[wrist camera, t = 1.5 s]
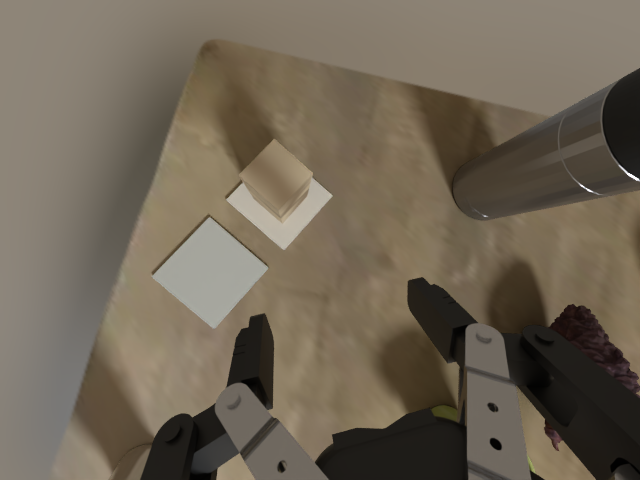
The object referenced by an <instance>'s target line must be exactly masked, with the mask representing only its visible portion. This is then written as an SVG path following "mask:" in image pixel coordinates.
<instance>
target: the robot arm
mask: <svg viewBox="0 0 640 480" xmlns="http://www.w3.org/2000/svg"><path fill="white" fill-rule="evenodd" d="M638 190H640V68H639V69H637V70H636V71H634V72H632V73H630V74H628V75H627V76H625V77H623V78H621V79H620V80H618V81H616V82H614V83H612V84H610V85H609V86H607V87H605V88H603V89H601V90H599V91H598V92H596V93H594V94H592V95H590V96H588V97H587V98H585V99H583V100H581V101H579V102H578V103H576V104H574V105H572V106H571V107H569V108H567V109H565V110H563V111H561V112H559V113H558V114H556V115H554V116H552V117H550V118H548V119H547V120H545V121H543V122H541V123H539V124H537V125H536V126H534V127H532V128H530V129H528V130H526V131H525V132H523V133H521V134H519V135H517V136H515V137H514V138H512V139H510V140H508V141H506V142H504V143H503V144H501V145H499V146H497V147H495V148H493V149H492V150H490V151H488V152H486V153H484V154H482V155H480V156H478V157H477V158H475V159H473V160H471V161H469V162H467V163H466V164H464V165H463V166H462V167H461V168H460V169H459V170H458V171H457V173H456V175H455V177H454V181H453V194H454V198H455V201H456V203H457V205H458V206H459V208H460V209H461V210H462V211H463V212H464V213H465V214H466V215H468V216H469V217H471V218H474V219H477V220H490V219H495V218H500V217H505V216H511V215H516V214H522V213H527V212H532V211H537V210H542V209H547V208H552V207H557V206H562V205H568V204H573V203H578V202H583V201H588V200H593V199H598V198H603V197H608V196H613V195H618V194H623V193H628V192H633V191H638ZM407 301H408V306H409V309H410V311H411V313H412V314H413V316H414V317H415V319H416V320H417V321H418V323H419V324H420V326H421V327H422V328H423V330H424V331H425V333H426V334H427V335H428V337H429V338H430V340H431V341H432V342H433V344H434V345H435V347H436V348H437V349H438V351H439V352H440V354H441V355H442V356H443V358H444V359H445V361H446V362H447V363H452V362H457V364H458V365H459V366H460V367H459V384H458V410H457V421H454V420H451V419H448V418H444V417H439V416H434V414H433V413H432V411H431V409H430V408H427V409H424V410H420V411H417V412H413V413H409V414H406V415H405V416H403V417H402V418H400V419H399V420H397V421H396V422H394V423H393V424H391V425H390V426H388V427H387V428H384V429H372V428H355V429H351V430H347V431H344V432H340V433H336V434H333V435H332V437H333V444H331V445H330V446H329V447H327V448H326V449H325V450H324V451H323V452H322V453H321V454H320V456H319V457H318V458H317V460H316V461H315V463H314V461H313V460H312V459H311V458H310V457H309V455H308V454H307V453H306V452H305V451H304V449H303V448H302V447H301V446H300V445H299V443H298V442H297V441H296V440H295V439H294V438H293V436H292V435H291V434H290V433H289V432H288V430H287V429H286V428H285V427H284V426H283V424H282V423H281V422H280V421H279V420H278V419H277V418H273V417H272V415H271V414H270V413H269V412H268V411H267V410H269V409H273V366H274V340H273V335H272V331H271V329H270V326H269V323H268V320H267V317H266V315H265V313H264V314H259V315H255V316H251V317H250V321H249V327H248V328H243V329H241V331H240V333H239V334H238V336H237V337H236V342H235V349H234V352H233V357H232V362H231V367H230V372H229V377H228V382H227V387H226V389H225V390H224V391H223V392H222V393H221V394H220V395H219V397H218V399H217V401H216V403H215V404H214V405H213V406H211V407H210V408H208V409H206V410H205V411H203V412H201V413H199V414H198V415H196V416H194V417H193V418H192V417H191V416H190V415H189V414H179V415H176V416H174V417H172V418H171V419H169V420H168V421H167V422H166V423H165V424H164V425H163V426H162V427H161V428H160V430H159V431H158V433H157V434H156V436H155V438H154V441H153V444H152V447H151V449H150V452H149V455H148V458H147V461H146V464H145V467H144V470H143V473H142V475H141V478H140V480H216V477H217V469H218V467H220V466H221V465H222V464H224V463H225V462H227V461H228V460H230V459H231V458H233V457H234V456H236V455H237V454H239V453H240V454H241V456H242V458H243V460H244V461H245V463H246V465H247V466H248V468H249V470H250V471H251V473H252V475H253V476H254V478H255V479H256V480H544V479H543V478H541V477H540V476H538V475H537V474H535V473H534V472H532V471H531V470H530V469H529V463H528V457H527V451H526V445H525V439H524V433H523V427H522V421H521V415H520V409H519V403H518V396H517V390H516V386H515V385H517V386H518V388H519V389H520V390H521V391H522V392H523V394H524V395H525V396H526V397H527V398H528V399H529V401H530V402H531V403H532V404H533V405H534V407H535V408H536V409H537V410H538V411H539V412H540V414H541V415H542V416H543V417H544V418H545V420H546V421H547V422H548V423H549V424H550V425H551V427H552V428H553V429H554V430H555V431H556V432H557V434H558V435H559V436H560V437H561V438H562V440H563V441H564V442H565V443H566V444H567V445H568V447H569V448H570V449H571V450H572V451H573V453H574V454H575V455H576V456H577V457H578V458H579V460H580V461H581V462H582V463H583V464H584V466H585V467H586V468H587V469H588V470H589V471H590V473H591V474H592V475H593V476H594V477H595V479H596V480H640V398H639V397H638V396H637V395H635V394H634V393H633V392H632V391H630V390H629V389H628V388H627V387H625V386H624V385H623V384H622V383H620V382H619V381H618V380H617V379H615V378H614V377H613V376H611V375H610V374H609V373H608V372H606V371H605V370H604V369H603V368H601V367H600V366H599V365H598V364H596V363H595V362H594V361H593V360H591V359H590V358H589V357H588V356H586V355H585V354H584V353H583V352H581V351H580V350H579V349H578V348H576V347H575V346H574V345H573V344H571V343H570V342H569V341H568V340H566V339H565V338H564V337H563V336H561V335H560V334H559V333H557V332H555V331H554V330H552V329H549V328H547V327H544V326H539V325H529V326H526V327H525V328H524V329H523V332H522V334H511V333H499V332H498V331H497V330H496V329H494V328H493V327H491V326H488V325H485V324H480V323H478V322H477V321H476V320H475V319H474V318H473V317H472V316H471V315H470V314H469V313H468V312H467V311H466V310H465V309H463V308H462V307H461V306H460V305H459V304H458V303H456V301H455V300H454V299H453V298H452V297H451V296H450V295H449V294H448V293H447V292H446V291H445V290H444V289H443V288H441V287H439V286H437V285H435V284H433V285H430V284H429V283H428V282H427V281H426V280H425V279H424V278H423V277H421V278H416V279H412V280H409V281H408V299H407Z"/></svg>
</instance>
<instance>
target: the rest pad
mask: <svg viewBox="0 0 640 480" xmlns="http://www.w3.org/2000/svg"><path fill="white" fill-rule="evenodd" d="M268 268H269V267H267V266H266V265H265V264H264V263H263V262H262V261H260V260H259V259H258V258H257V257H256V256H255V255H253V254H252V253H251V252H250V251H249V250H248V249H247V248H245V247H244V246H243V245H242V244H241V243H240V242H238V241H237V240H236V239H235V238H234V237H233V236H231V235H230V234H229V233H228V232H227V231H226V230H225V229H223V228H222V227H221V226H220V225H219V224H218V223H216V222H215V221H214V220H213V219H212V218H211V217H209V218H208V219H207V220H206V221H205V222H204V223H203V224H202V225H201V226H200V227H199V228H198V229H197V230H196V231H195V232H194V233H193V234H192V235H191V236H190V237H189V239H188V240H187V241H186V242H185V243H184V244H183V245H182V246H181V247H180V248H179V249H178V250H177V251H176V252H175V253H174V254H173V255H172V256H171V257H170V258H169V259H168V260H167V261H166V262H165V263H164V264H163V265H162V266H161V267H160V268H159V269H158V270H157V272H156V273H155V274H154V275H153V276H152V277H153V278H154V279H155V280H156V281H157V282H158V283H160V284H161V285H162V286H163V287H164V288H166V289H167V290H168V291H169V292H170V293H172V294H173V295H174V296H175V297H176V298H177V299H179V300H180V301H181V302H182V303H183V304H185V305H186V306H187V307H188V308H189V309H191V310H192V311H193V312H194V313H195V314H196V315H198V316H199V317H200V318H201V319H202V320H204V321H205V322H206V323H207V324H208V325H210V326H211V327H212V328H213V329H215V328H216V327H217V325H218V324H219V323H220V322H221V321H222V320H223V319H224V318H225V316H226V315H227V314H228V313H229V312H230V311H231V310H232V309H233V307H234V306H235V305H236V304H237V303H238V302H239V301H240V300H241V298H242V297H243V296H244V295H245V294H246V293H247V292H248V291H249V289H250V288H251V287H252V286H253V285H254V284H255V283H256V282H257V280H258V279H259V278H260V277H261V276H262V275H263V274H264V273H265V271H266V270H267V269H268Z"/></svg>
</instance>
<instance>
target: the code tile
mask: <svg viewBox="0 0 640 480" xmlns="http://www.w3.org/2000/svg"><path fill="white" fill-rule="evenodd" d="M332 196H333V195H331V194H330V193H329V192H328V191H327V190H326V189H325V188H324V187H322V186H321V185H320V184H319V183H318V182H317V181H316V180H315V179H314V178H312V179H311V183H310V187H309V191H308V195H307V197H306V198H305V199H304V201H303V202H302V203H301V204H300V205H299V206H298V207H297V208H296V209H295V210H294V212H293V213H292V214H291V215H290V216H289V217H288V218H287V219H286V220H285V221H284V223H283V224H282V223H281V222H280V221H278V220H277V219H276V218H275V217H274V216H273V215H272V214H270V213H269V212H268V211H267V210H266V209H265V208H264V207H262V206H261V205H260V204H259V203H258V202H257V201H256V200H254V199H253V197H252V195H251V194H250V192H249V191H248V189H247V188H246V186H245V185H244V183H242V184H241V185H240V186H239V187H238V188H237V189H236V190H235V191H234V192H233V193H232V194H231V195H230V196H229V197H228V198H227V199H226V201H228V202H229V203H230V204H231V205H232V206H233V207H235V208H236V209H237V210H238V211H239V212H240V213H241V214H243V215H244V216H245V217H246V218H247V219H248V220H249V221H251V222H252V223H253V224H254V225H255V226H256V227H258V228H259V229H260V230H261V231H262V232H263V233H264V234H266V235H267V236H268V237H269V238H270V239H271V240H272V241H274V242H275V243H276V244H277V245H278V246H279V247H281V248H282V249H283V250H285V249H286V248H287V247H288V246H289V244H290V243H291V242H292V241H293V240H294V239H295V238H296V237H297V235H298V234H299V233H300V232H301V231H302V230H303V229H304V228H305V226H306V225H307V224H308V223H309V222H310V221H311V220H312V219H313V217H314V216H315V215H316V214H317V213H318V212H319V211H320V210H321V208H322V207H323V206H324V205H325V204H326V203H327V202H328V201H329V199H330V198H331V197H332Z"/></svg>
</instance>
